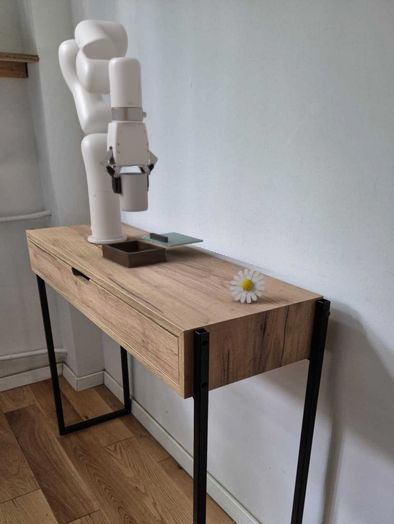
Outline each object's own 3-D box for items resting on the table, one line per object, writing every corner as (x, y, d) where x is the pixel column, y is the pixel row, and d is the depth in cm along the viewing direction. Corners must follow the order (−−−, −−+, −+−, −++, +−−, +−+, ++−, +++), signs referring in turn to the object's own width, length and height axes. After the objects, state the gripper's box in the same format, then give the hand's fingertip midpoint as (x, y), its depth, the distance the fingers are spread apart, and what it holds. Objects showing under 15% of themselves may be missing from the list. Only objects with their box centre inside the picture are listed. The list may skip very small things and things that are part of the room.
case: (102, 257, 136) (101, 244, 134) (138, 251, 142) (137, 239, 141) (128, 268, 125) (127, 254, 124) (165, 261, 132) (165, 248, 130)
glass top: (141, 238, 142) (141, 231, 141) (174, 233, 148) (173, 227, 147) (169, 247, 131) (169, 239, 130) (203, 241, 137) (203, 234, 136)
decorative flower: (226, 253, 109) (262, 269, 96) (243, 270, 112) (280, 287, 100) (205, 280, 109) (238, 299, 97) (222, 296, 113) (256, 316, 100)
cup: (125, 212, 122) (123, 175, 118) (114, 207, 130) (112, 172, 126) (152, 211, 125) (151, 174, 121) (139, 205, 133) (138, 171, 129)
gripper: (149, 117, 126) (151, 188, 133) (87, 116, 116) (94, 193, 123) (165, 116, 120) (167, 191, 128) (102, 115, 111) (107, 196, 118)
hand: (131, 191), depth 125 cm, fingers closed on cup, 7 cm apart
